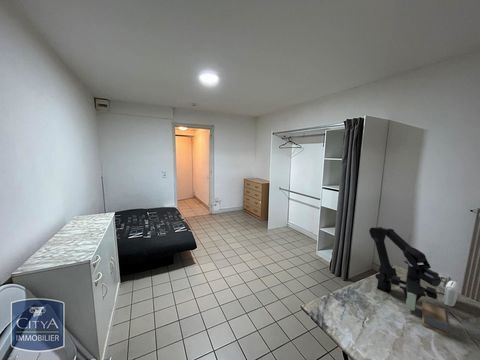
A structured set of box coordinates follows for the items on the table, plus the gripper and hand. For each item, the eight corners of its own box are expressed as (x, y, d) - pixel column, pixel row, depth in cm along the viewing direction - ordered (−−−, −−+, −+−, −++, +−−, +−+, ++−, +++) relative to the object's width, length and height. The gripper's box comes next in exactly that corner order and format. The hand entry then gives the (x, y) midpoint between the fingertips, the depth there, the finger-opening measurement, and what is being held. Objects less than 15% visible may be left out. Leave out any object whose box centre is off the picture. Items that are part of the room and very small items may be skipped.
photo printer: (446, 296, 117) (449, 277, 115) (457, 300, 113) (460, 281, 111) (442, 303, 111) (445, 283, 109) (453, 308, 107) (456, 288, 106)
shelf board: (422, 325, 97) (422, 323, 97) (421, 302, 111) (422, 301, 111) (448, 336, 91) (448, 334, 91) (444, 311, 105) (444, 309, 105)
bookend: (423, 322, 97) (424, 315, 96) (423, 321, 98) (424, 314, 97) (446, 332, 91) (448, 325, 91) (446, 331, 92) (447, 324, 92)
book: (405, 307, 105) (407, 292, 104) (406, 299, 111) (408, 285, 110) (414, 310, 103) (416, 295, 102) (414, 302, 109) (416, 287, 108)
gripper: (390, 273, 105) (388, 299, 107) (439, 290, 92) (435, 318, 95) (393, 265, 113) (390, 289, 115) (438, 279, 101) (434, 305, 103)
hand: (410, 300), depth 107 cm, fingers closed on book, 3 cm apart
